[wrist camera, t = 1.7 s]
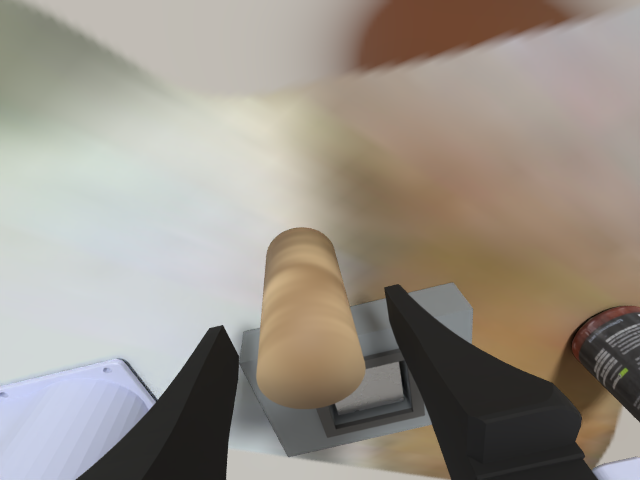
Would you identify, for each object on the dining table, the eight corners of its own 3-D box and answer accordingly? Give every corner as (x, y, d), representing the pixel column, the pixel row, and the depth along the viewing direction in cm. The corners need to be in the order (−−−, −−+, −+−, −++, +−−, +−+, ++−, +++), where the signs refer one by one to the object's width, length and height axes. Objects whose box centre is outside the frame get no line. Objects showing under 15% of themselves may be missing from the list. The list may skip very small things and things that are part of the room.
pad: (337, 407, 24) (338, 415, 23) (324, 365, 21) (325, 373, 21) (401, 393, 23) (404, 400, 23) (395, 348, 21) (397, 356, 21)
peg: (277, 292, 20) (274, 418, 13) (257, 237, 18) (240, 351, 11) (340, 277, 20) (372, 395, 13) (327, 220, 18) (356, 324, 11)
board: (287, 424, 26) (288, 461, 24) (243, 331, 21) (238, 367, 19) (453, 386, 26) (471, 419, 24) (452, 282, 21) (475, 311, 18)
